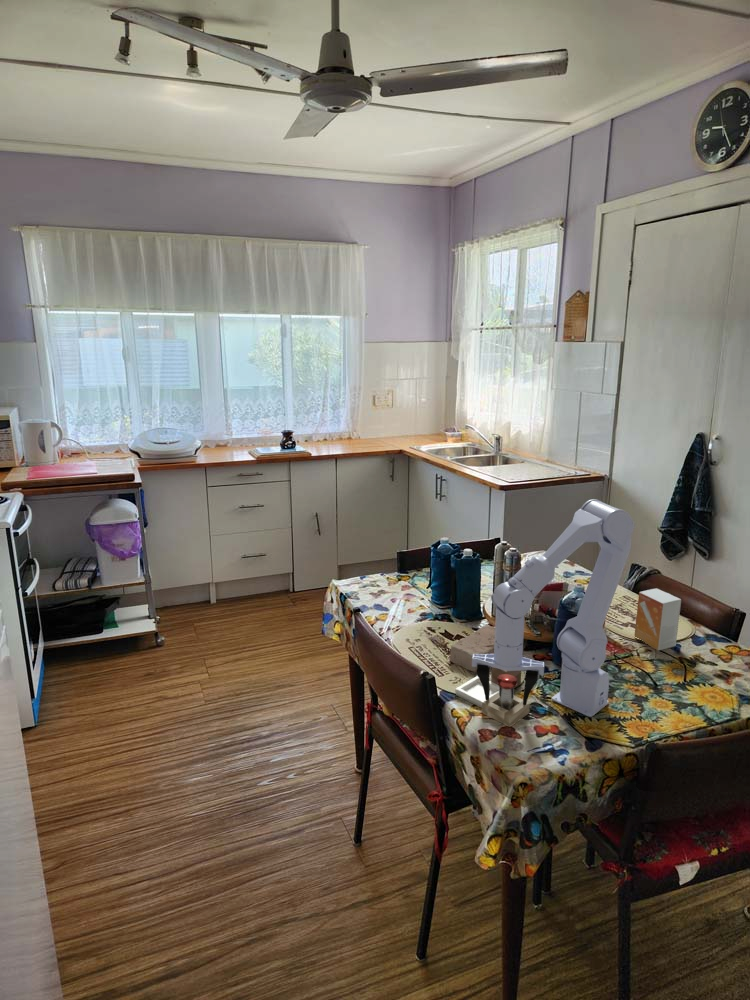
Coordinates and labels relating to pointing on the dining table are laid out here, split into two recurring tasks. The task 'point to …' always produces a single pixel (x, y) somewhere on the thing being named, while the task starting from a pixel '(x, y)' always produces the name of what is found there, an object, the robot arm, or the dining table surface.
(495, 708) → the socket block
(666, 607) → the small box
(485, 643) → the brick
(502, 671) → the brown rectangular block
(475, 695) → the tray
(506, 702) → the pin
